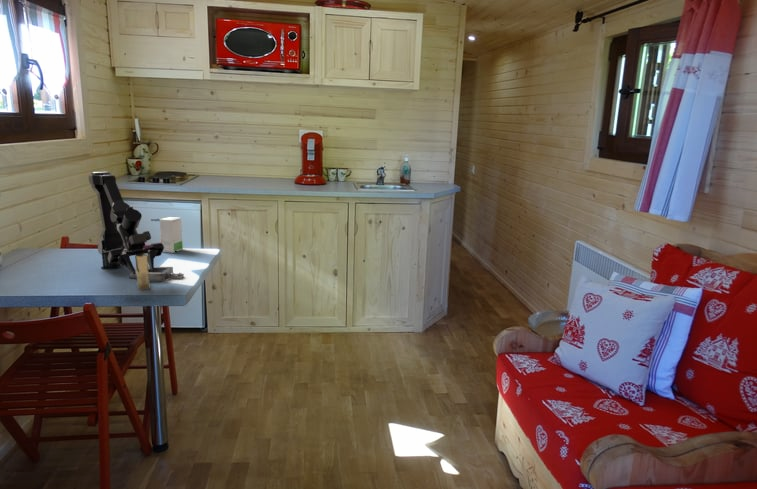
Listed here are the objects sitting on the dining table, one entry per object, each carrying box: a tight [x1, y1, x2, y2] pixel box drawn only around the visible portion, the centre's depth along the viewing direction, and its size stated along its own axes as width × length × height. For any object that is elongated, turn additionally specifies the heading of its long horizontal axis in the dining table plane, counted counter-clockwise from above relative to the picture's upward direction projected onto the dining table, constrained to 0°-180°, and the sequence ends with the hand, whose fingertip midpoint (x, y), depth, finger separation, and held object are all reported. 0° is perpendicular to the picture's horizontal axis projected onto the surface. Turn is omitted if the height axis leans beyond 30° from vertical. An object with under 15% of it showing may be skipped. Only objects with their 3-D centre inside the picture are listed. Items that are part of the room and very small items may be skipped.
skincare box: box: [159, 216, 184, 254], centre depth 240 cm, size 8×7×16 cm
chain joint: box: [129, 265, 185, 282], centre depth 202 cm, size 20×9×3 cm, turn 93°
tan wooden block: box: [134, 254, 151, 291], centre depth 188 cm, size 4×4×12 cm
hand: (143, 271), depth 187 cm, fingers open, 6 cm apart
